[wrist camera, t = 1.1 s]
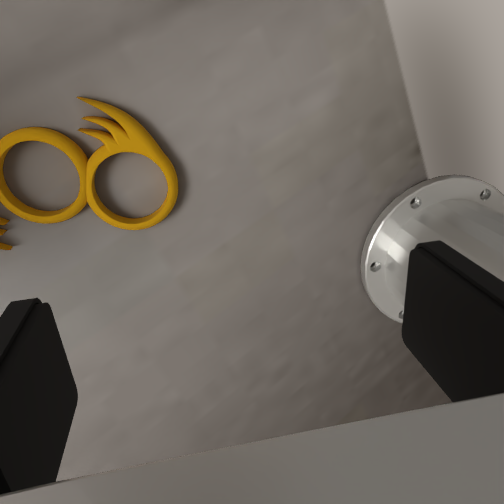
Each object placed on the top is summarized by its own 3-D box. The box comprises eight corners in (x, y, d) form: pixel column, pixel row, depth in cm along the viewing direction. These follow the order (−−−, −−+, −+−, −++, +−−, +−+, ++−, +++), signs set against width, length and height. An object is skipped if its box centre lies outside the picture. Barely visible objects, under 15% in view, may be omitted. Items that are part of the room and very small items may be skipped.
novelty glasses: (-122, 67, 23) (-93, 236, 27) (-141, 67, 21) (-107, 246, 25) (184, 110, 27) (171, 254, 30) (185, 113, 25) (172, 263, 29)
